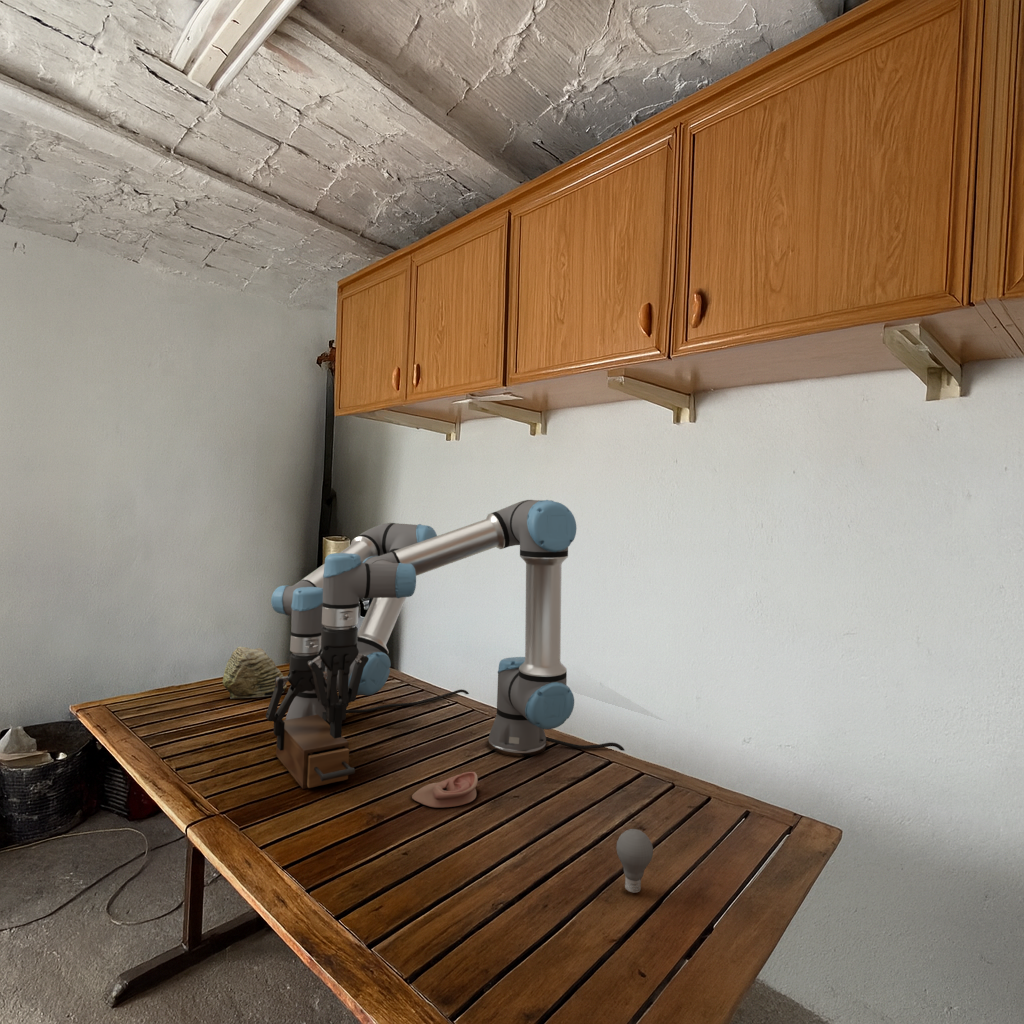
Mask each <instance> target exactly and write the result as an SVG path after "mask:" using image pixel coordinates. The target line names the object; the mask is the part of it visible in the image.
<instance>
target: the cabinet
mask: <svg viewBox="0 0 1024 1024" xmlns="http://www.w3.org/2000/svg"><path fill="white" fill-rule="evenodd" d="M282 720H283V721H284V722H285V726H284V750H281V751H280V750H279V748H278V747H277V745H276V746H275V748H276V751H275V756H276V757H277V759H278V761H279V762H280V763H281V764H282V765H283V766H284V767H285V769H286V770H287V771H288V773H289V774H290V775H291V776H292V778H293V780H295V782H296V783H297V784H298V785H299V786H300V788H301V789H302V790H305V789H309V788H308V786H307V763H308V753H313V752H318V751H323V750H328V749H333V748H338V747H342V749H345V748H348V749H349V741H348V740H347V739H346V738H345V737H344V736H343V735H341V737H340V738H335V739H334V738H333V737H332V736H331V735H330V725H329V724H328V723H327V722H326V721H325V720H324V719H322V718H321V717H320V716H319V715H312V716H306V717H300V718H294V719H288V720H286V719H282Z"/></svg>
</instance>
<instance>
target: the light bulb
mask: <svg viewBox="0 0 1024 1024" xmlns="http://www.w3.org/2000/svg"><path fill="white" fill-rule="evenodd" d="M615 849H616V854H617V857H618V859H619V861H620V863H621V865H622V867H623V873H624V874H623V875H624V876H625V878H624V888H625V890H627V891H628V892H630V893H634V894H635V893H639V892H640V891H641V889H642V887H641V886H642V879H643V877H644V875H645V871H646V868H647V867H648V866H649V864H650V863H651V861H652V859H653V855H654V847H653V843H652V841H651V838H649V836H648V835H647V834H646V833H645V832H643V831H642V830H641V829H636V828H629V829H627V830H625V831H623V832H622V833H621V834H620V835H619V837H618V839H617V841H616V847H615Z"/></svg>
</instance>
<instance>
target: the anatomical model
mask: <svg viewBox="0 0 1024 1024" xmlns="http://www.w3.org/2000/svg"><path fill="white" fill-rule="evenodd" d="M478 777H479V776H478V775H477V772H475V771H466V772H463V773H462V772H461V773H459V774H456V775H454V776H451V777H448V778H445V779H444V780H441V781H438V782H433V783H429V784H426V785H424V786H421V788H419V789H417V790H416V791H414V792H413V794H412V795H411V799H412V800H414V801H415V802H417V803H419V804H421V805H423V806H427V807H428V808H429V807H430V808H435V809H439V808H452V807H459V806H464V805H466V804H469V803H471V802H473V801H474V800H475V799H476V798H477V795H478V794H477V789H476V787H477V786H478V783H479V782H478V781H479V778H478Z"/></svg>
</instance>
